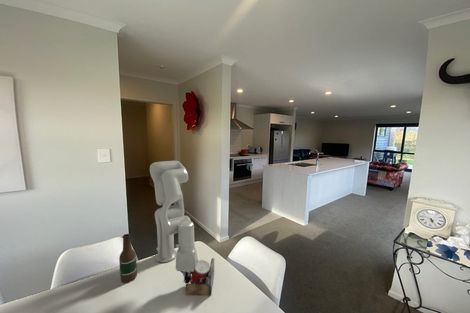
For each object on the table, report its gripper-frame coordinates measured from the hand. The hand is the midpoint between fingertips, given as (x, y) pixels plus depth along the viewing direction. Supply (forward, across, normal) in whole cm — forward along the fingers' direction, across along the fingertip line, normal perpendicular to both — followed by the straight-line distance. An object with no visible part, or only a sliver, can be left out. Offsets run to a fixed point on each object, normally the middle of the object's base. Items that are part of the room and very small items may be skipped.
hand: (187, 281), depth 97 cm
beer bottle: (+3, -33, +4) cm, 33 cm away
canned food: (+2, +5, +1) cm, 5 cm away
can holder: (+2, +6, +1) cm, 6 cm away
